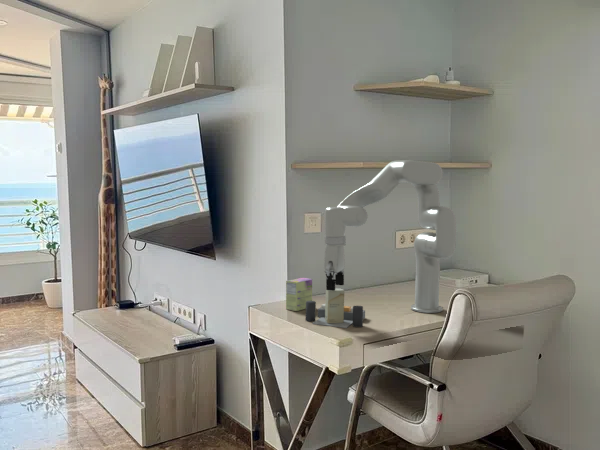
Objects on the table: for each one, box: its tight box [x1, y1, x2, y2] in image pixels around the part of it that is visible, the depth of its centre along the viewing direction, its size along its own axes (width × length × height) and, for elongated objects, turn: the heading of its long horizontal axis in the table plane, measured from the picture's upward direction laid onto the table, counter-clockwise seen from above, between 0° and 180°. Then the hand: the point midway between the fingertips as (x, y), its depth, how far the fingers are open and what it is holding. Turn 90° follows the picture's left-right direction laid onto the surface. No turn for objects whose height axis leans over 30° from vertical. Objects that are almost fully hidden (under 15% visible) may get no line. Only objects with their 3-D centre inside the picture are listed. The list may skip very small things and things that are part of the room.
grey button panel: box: [312, 303, 366, 329], centre depth 207 cm, size 16×17×4 cm
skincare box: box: [324, 287, 345, 323], centre depth 203 cm, size 6×4×12 cm
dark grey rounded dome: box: [305, 300, 317, 323], centre depth 207 cm, size 4×4×7 cm
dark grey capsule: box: [352, 305, 364, 328], centre depth 200 cm, size 4×4×7 cm
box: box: [285, 277, 313, 312], centre depth 226 cm, size 10×6×12 cm, turn 141°
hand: (335, 287), depth 203 cm, fingers open, 9 cm apart
